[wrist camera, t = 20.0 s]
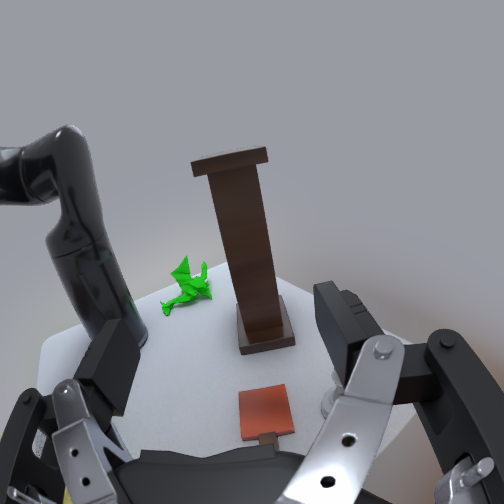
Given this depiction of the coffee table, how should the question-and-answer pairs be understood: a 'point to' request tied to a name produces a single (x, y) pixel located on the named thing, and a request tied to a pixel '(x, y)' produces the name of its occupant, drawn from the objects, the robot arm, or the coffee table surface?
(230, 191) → the wooden pedestal stand
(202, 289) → the figurine
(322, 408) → the chess piece
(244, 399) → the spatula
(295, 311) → the coffee table surface
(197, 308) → the coffee table surface
